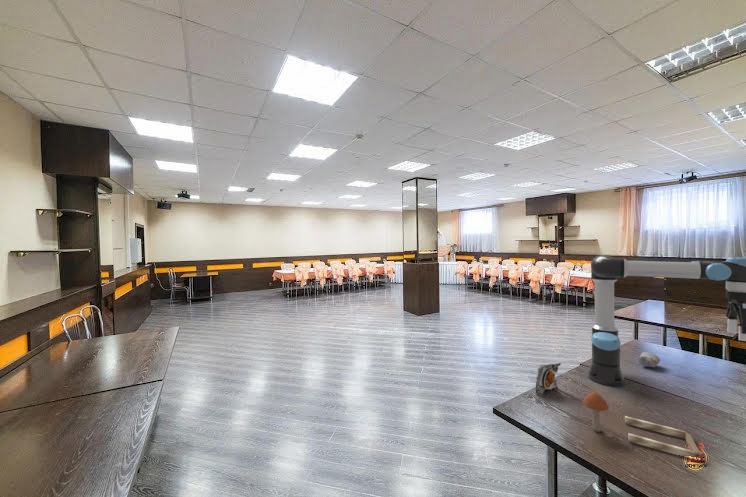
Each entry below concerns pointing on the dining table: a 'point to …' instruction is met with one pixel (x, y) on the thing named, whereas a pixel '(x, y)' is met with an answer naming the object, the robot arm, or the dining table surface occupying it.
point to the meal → (546, 377)
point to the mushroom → (595, 408)
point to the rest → (660, 445)
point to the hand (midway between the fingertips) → (737, 336)
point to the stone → (648, 359)
